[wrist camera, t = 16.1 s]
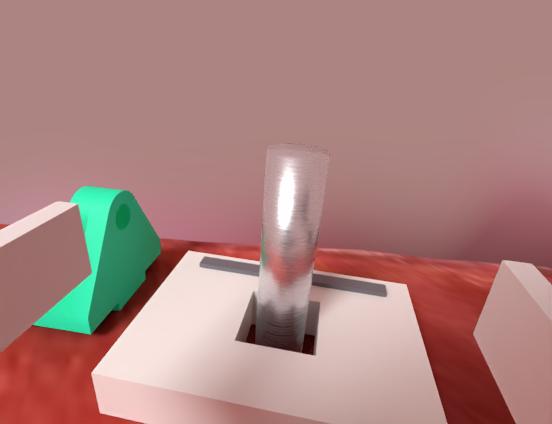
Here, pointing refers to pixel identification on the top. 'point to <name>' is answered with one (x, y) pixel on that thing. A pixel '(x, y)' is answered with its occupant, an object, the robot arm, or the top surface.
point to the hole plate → (268, 355)
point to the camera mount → (106, 259)
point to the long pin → (289, 242)
